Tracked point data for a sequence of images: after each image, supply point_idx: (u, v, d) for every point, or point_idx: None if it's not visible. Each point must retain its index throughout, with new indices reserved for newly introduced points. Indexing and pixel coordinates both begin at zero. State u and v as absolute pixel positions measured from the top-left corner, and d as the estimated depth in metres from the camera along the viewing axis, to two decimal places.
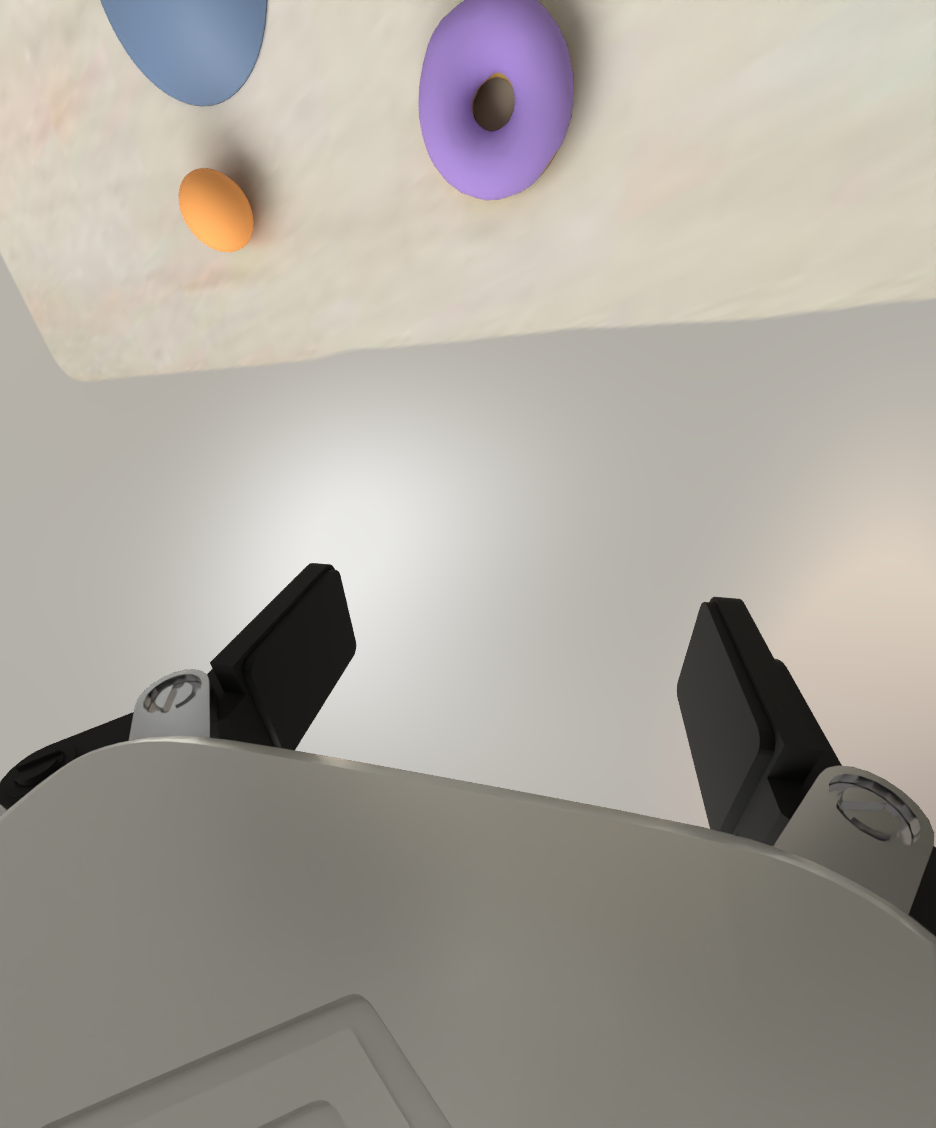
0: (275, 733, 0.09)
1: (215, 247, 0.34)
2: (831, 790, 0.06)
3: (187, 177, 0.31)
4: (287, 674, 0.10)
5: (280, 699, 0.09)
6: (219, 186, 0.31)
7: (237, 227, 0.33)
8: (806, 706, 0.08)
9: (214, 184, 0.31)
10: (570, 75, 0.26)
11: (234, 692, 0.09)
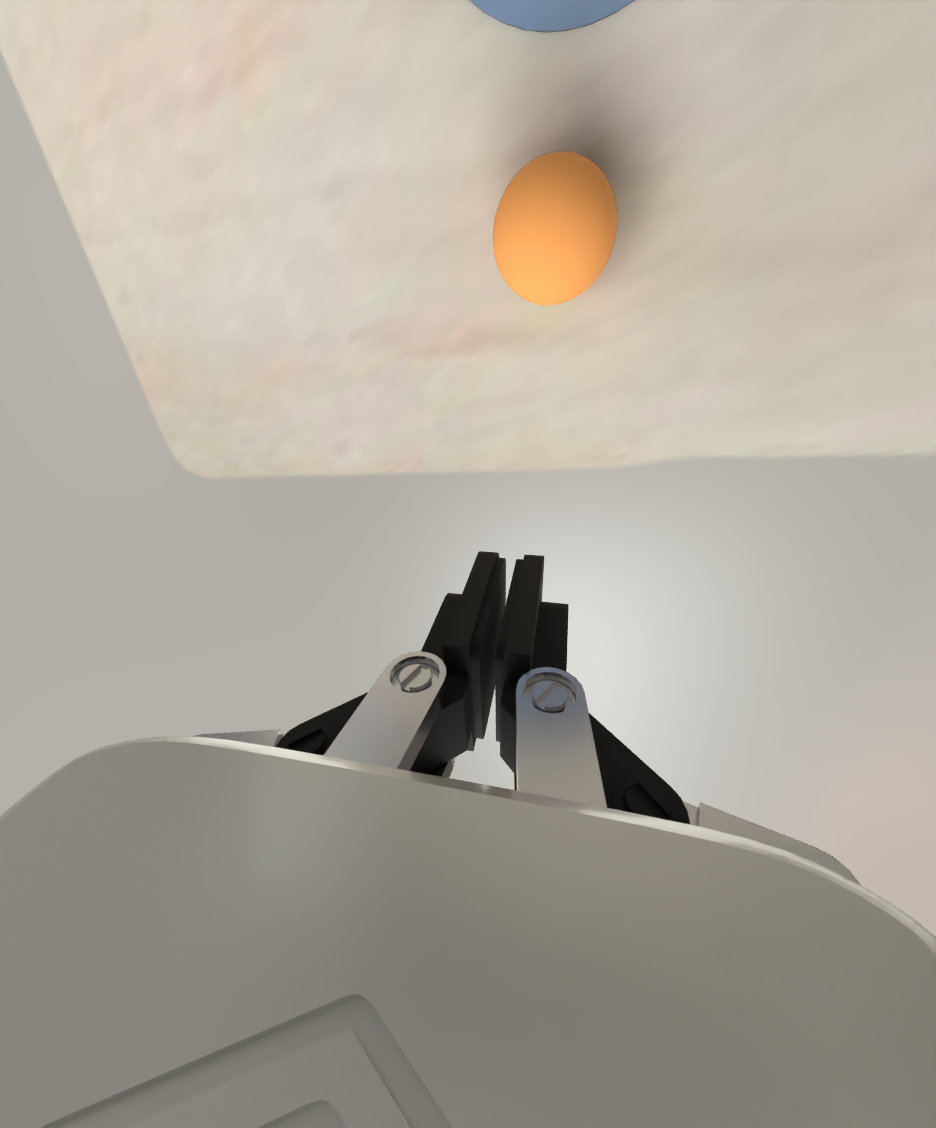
0: (481, 716, 0.09)
1: (541, 299, 0.18)
2: (531, 683, 0.08)
3: (541, 169, 0.16)
4: (487, 658, 0.10)
5: (484, 683, 0.10)
6: (601, 187, 0.16)
7: (601, 264, 0.17)
8: (566, 635, 0.10)
9: (595, 183, 0.16)
10: None
11: (457, 674, 0.09)
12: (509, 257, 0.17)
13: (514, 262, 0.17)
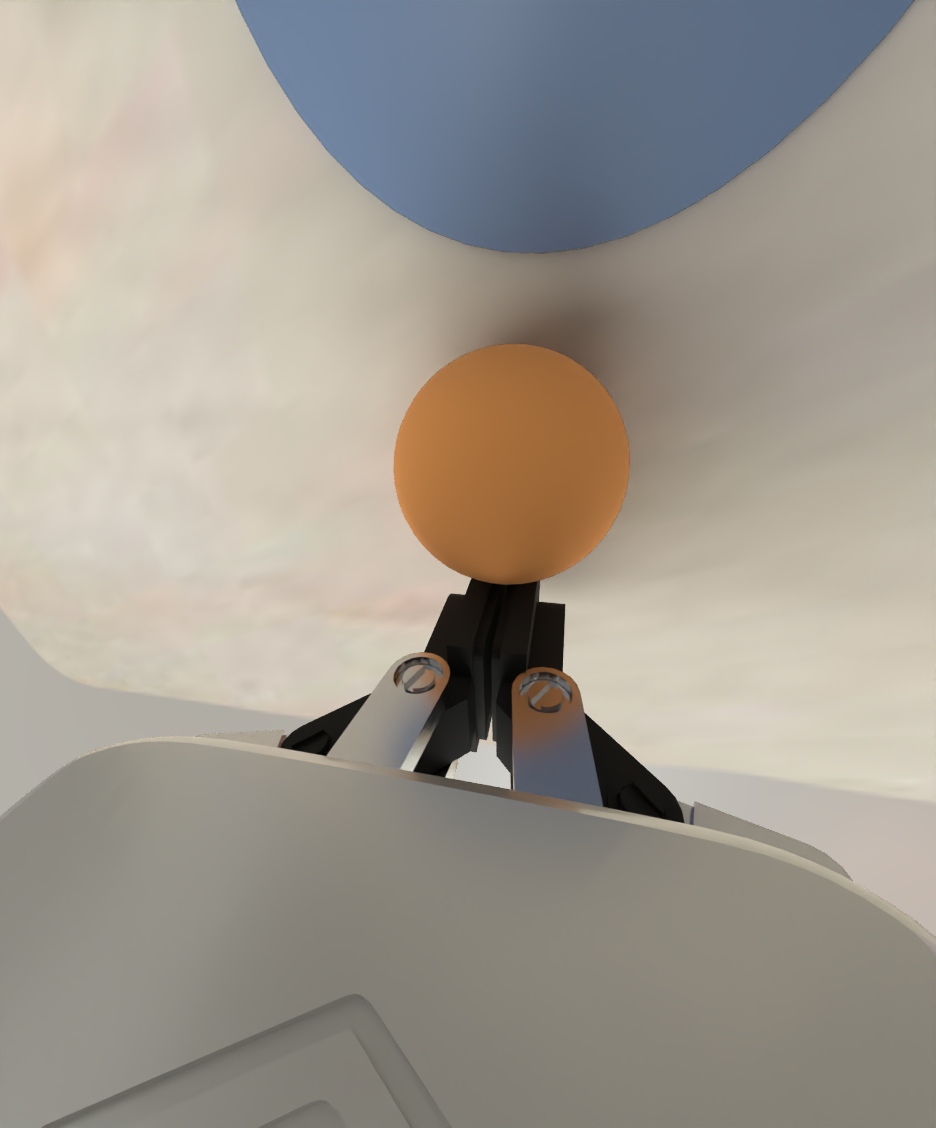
0: (484, 717, 0.09)
1: (464, 560, 0.08)
2: (527, 683, 0.08)
3: (487, 347, 0.08)
4: (491, 659, 0.10)
5: (487, 683, 0.10)
6: (599, 389, 0.08)
7: (596, 520, 0.08)
8: (562, 635, 0.10)
9: (587, 378, 0.08)
10: None
11: (460, 675, 0.09)
12: (405, 467, 0.08)
13: (411, 475, 0.08)
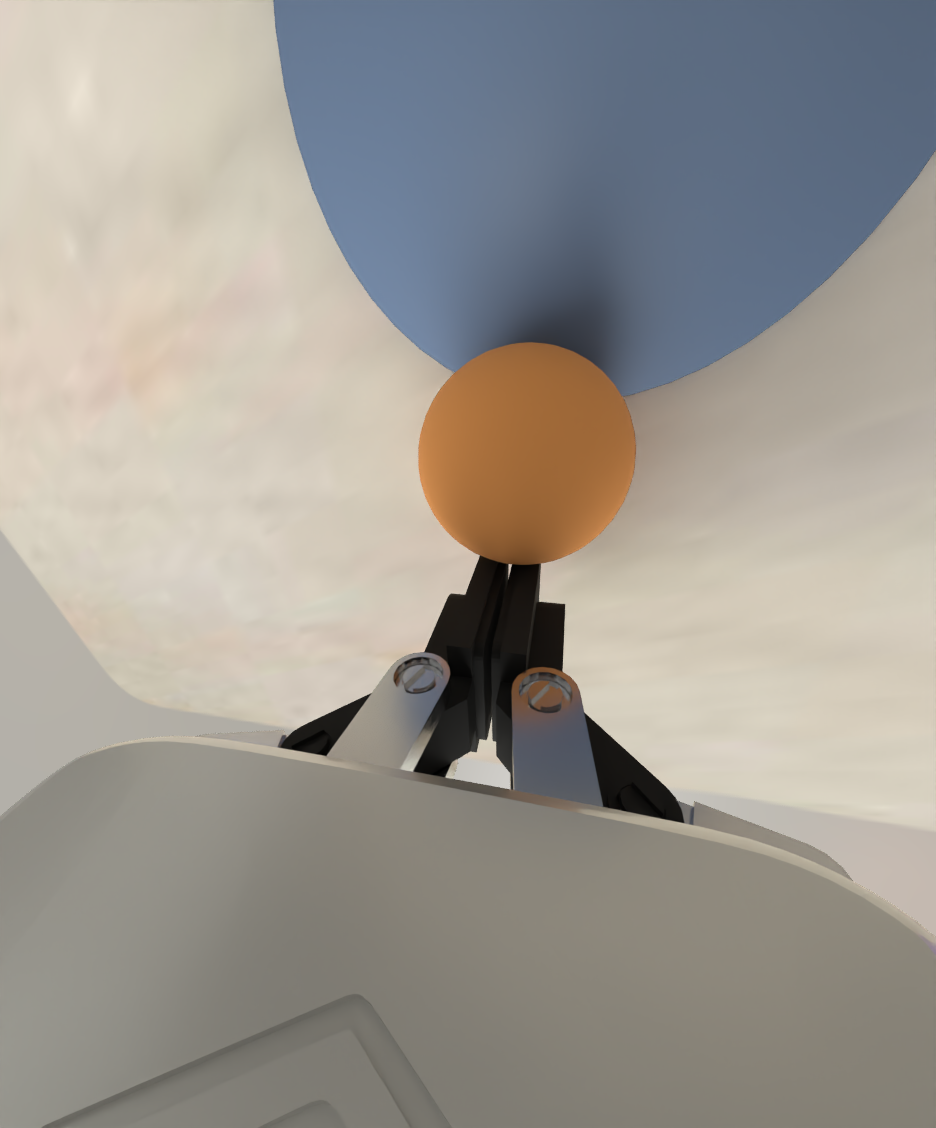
0: (484, 717, 0.09)
1: (473, 473, 0.08)
2: (527, 683, 0.08)
3: None
4: (491, 659, 0.10)
5: (487, 683, 0.10)
6: None
7: (607, 458, 0.08)
8: (562, 635, 0.10)
9: None
10: None
11: (460, 675, 0.09)
12: (438, 399, 0.09)
13: (443, 398, 0.09)
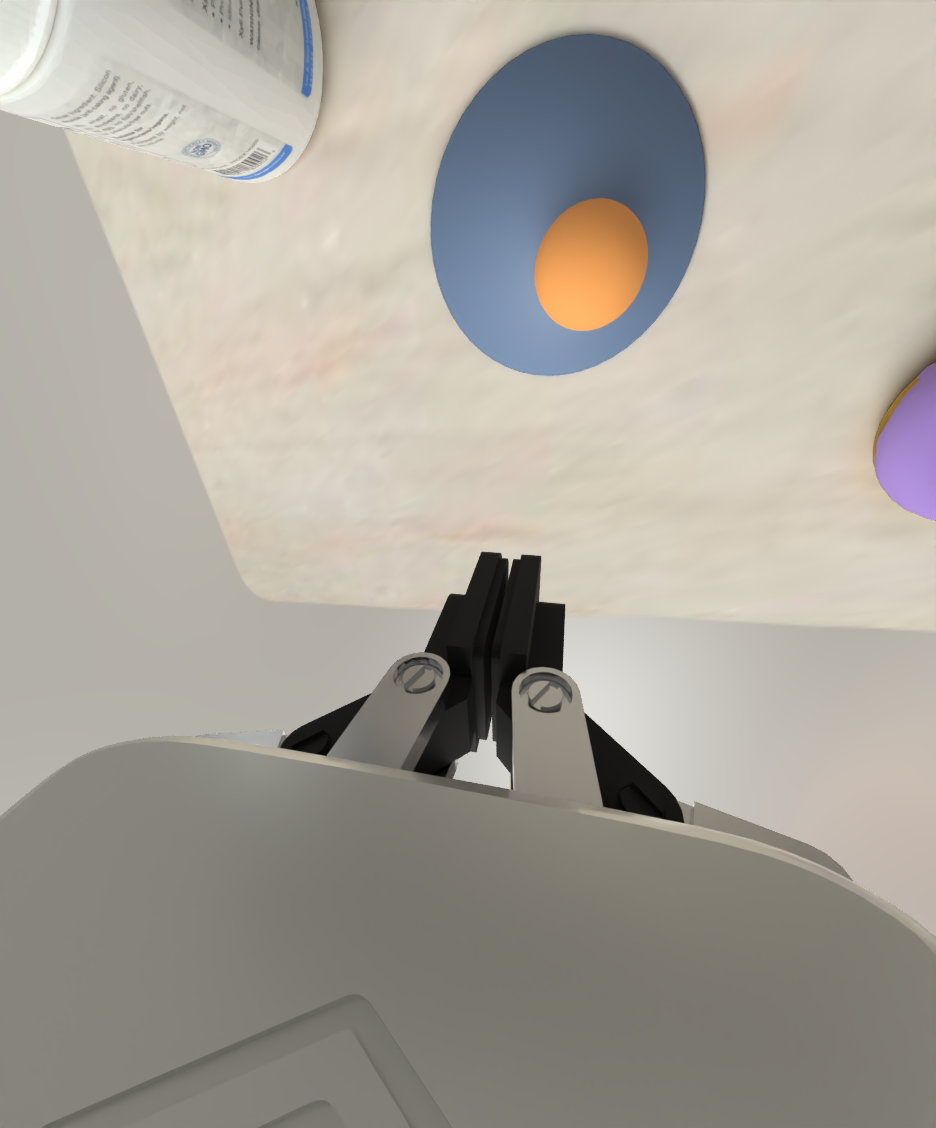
0: (484, 717, 0.09)
1: None
2: (527, 683, 0.08)
3: None
4: (490, 659, 0.10)
5: (487, 683, 0.10)
6: None
7: None
8: (562, 635, 0.10)
9: None
10: None
11: (460, 675, 0.09)
12: None
13: None
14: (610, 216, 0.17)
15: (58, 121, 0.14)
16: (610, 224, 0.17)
